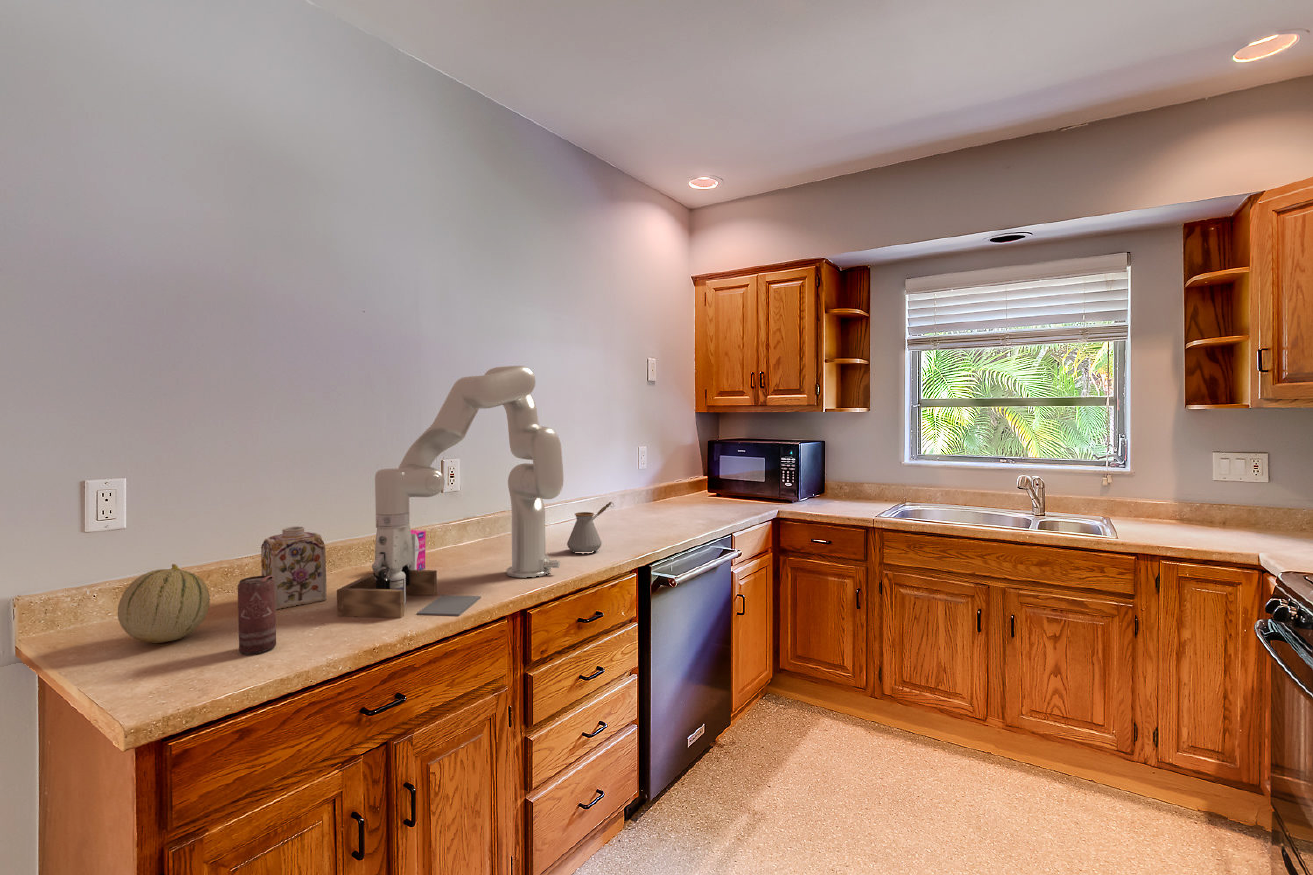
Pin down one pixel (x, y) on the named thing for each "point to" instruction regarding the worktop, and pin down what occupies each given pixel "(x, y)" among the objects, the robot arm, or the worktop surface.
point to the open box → (382, 595)
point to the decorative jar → (295, 566)
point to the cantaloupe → (163, 605)
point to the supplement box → (418, 549)
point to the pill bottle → (398, 581)
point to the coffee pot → (585, 532)
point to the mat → (449, 605)
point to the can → (256, 615)
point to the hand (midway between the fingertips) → (393, 590)
